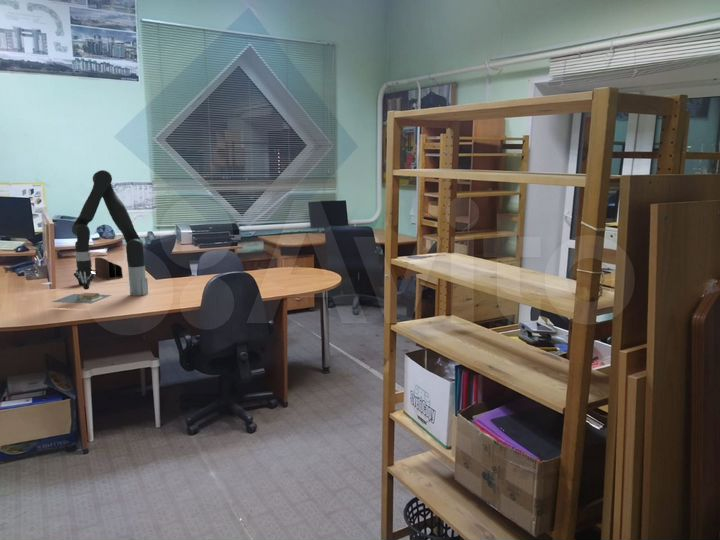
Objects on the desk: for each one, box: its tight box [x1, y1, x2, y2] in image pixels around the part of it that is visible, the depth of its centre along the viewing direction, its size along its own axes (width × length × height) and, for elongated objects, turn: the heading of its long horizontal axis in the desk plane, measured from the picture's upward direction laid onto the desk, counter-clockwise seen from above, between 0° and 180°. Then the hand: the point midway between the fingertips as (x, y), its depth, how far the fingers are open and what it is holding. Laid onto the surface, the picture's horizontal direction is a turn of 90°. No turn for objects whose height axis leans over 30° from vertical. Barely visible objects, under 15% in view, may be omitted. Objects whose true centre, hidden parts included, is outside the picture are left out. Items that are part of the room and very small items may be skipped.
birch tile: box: [77, 292, 100, 300], centre depth 306 cm, size 2×7×9 cm
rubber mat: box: [51, 293, 112, 304], centre depth 307 cm, size 24×20×1 cm
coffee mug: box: [75, 268, 97, 286], centre depth 348 cm, size 12×9×10 cm
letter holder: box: [94, 257, 124, 281], centre depth 371 cm, size 10×20×14 cm, turn 50°
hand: (86, 289), depth 305 cm, fingers closed
